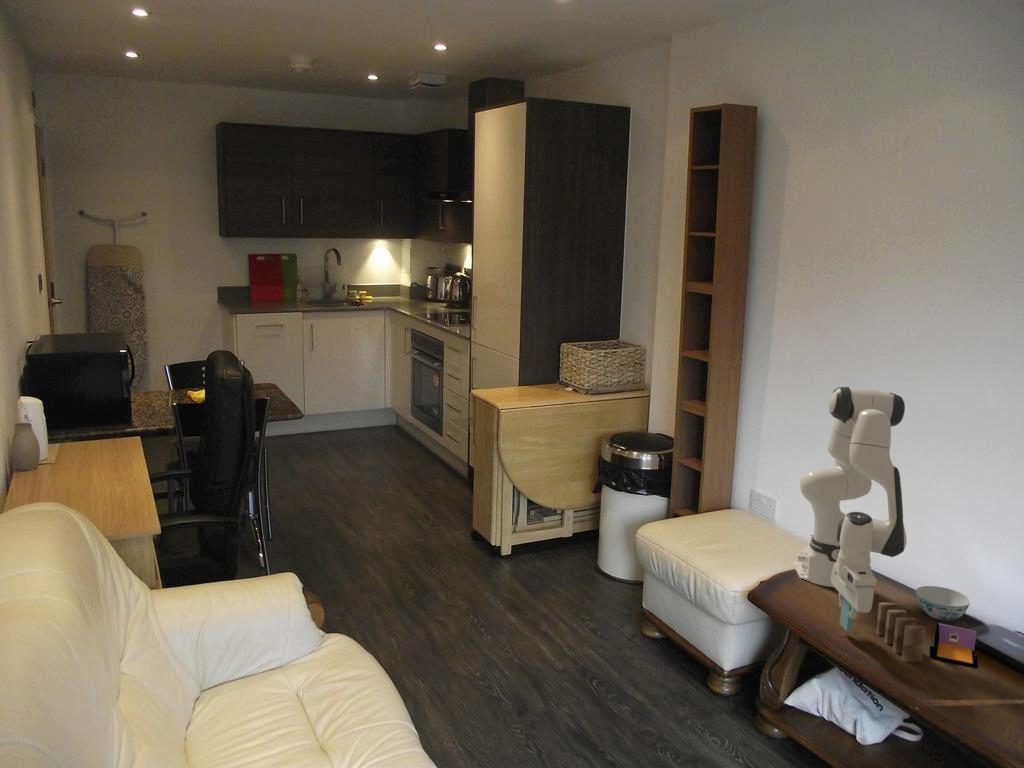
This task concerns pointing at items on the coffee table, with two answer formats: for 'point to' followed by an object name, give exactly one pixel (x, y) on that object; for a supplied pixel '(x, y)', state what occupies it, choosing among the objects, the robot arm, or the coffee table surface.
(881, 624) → the domino
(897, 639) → the domino
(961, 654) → the miniature room corner
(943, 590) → the chinaware
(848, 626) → the domino
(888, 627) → the domino
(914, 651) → the domino
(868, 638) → the coffee table surface
